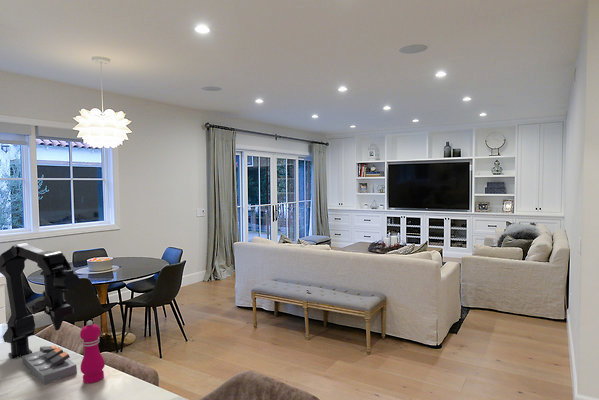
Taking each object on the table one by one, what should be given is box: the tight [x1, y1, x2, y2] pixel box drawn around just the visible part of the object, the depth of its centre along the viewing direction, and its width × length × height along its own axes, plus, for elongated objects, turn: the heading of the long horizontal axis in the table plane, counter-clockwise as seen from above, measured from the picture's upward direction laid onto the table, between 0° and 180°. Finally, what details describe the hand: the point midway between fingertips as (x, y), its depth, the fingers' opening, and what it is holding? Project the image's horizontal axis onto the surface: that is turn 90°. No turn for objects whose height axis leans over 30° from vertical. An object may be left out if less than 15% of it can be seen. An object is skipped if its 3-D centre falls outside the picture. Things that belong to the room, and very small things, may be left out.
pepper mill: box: [79, 320, 106, 384], centre depth 134 cm, size 7×7×20 cm
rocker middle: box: [44, 347, 64, 361], centre depth 144 cm, size 4×5×2 cm
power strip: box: [21, 350, 78, 386], centre depth 143 cm, size 24×10×3 cm, turn 49°
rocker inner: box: [39, 345, 58, 353], centre depth 149 cm, size 4×5×2 cm
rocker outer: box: [50, 351, 71, 366], centre depth 141 cm, size 4×5×2 cm
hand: (57, 329), depth 145 cm, fingers closed
